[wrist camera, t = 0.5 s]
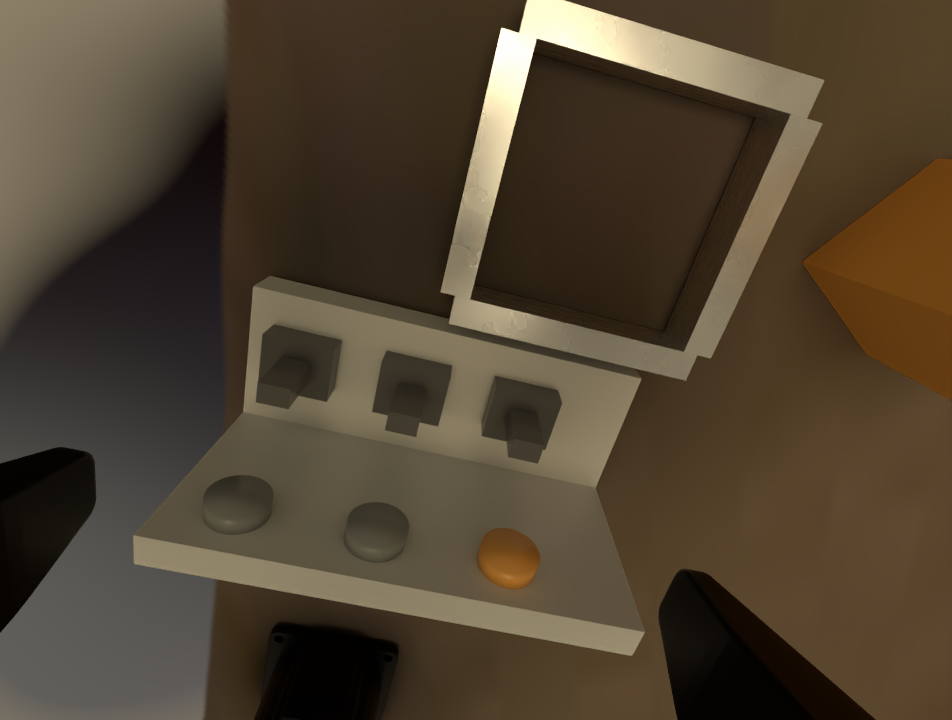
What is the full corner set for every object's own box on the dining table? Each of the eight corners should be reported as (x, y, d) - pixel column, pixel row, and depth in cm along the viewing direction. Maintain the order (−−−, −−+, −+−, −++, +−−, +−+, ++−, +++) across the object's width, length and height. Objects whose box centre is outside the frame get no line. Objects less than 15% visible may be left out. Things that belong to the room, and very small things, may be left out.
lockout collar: (678, 361, 20) (699, 383, 18) (438, 303, 19) (434, 320, 17) (798, 92, 16) (840, 85, 14) (507, 4, 15) (511, -16, 13)
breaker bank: (580, 484, 22) (632, 655, 14) (257, 414, 21) (134, 564, 13) (630, 362, 20) (721, 492, 12) (270, 275, 18) (129, 361, 11)
